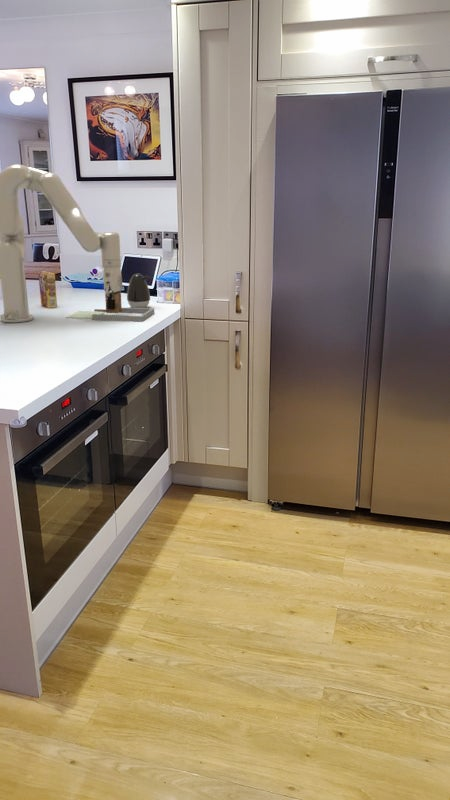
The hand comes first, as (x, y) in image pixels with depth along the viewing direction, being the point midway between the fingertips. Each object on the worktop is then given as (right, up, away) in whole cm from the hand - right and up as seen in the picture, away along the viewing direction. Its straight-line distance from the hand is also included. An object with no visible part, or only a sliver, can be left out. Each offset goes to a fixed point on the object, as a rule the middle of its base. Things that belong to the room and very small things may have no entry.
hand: (113, 307), depth 260 cm
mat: (-12, -3, +3) cm, 13 cm away
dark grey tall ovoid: (+8, +3, +19) cm, 21 cm away
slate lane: (+4, -4, +1) cm, 6 cm away
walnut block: (-3, -2, +1) cm, 4 cm away
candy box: (-33, +3, +22) cm, 40 cm away
